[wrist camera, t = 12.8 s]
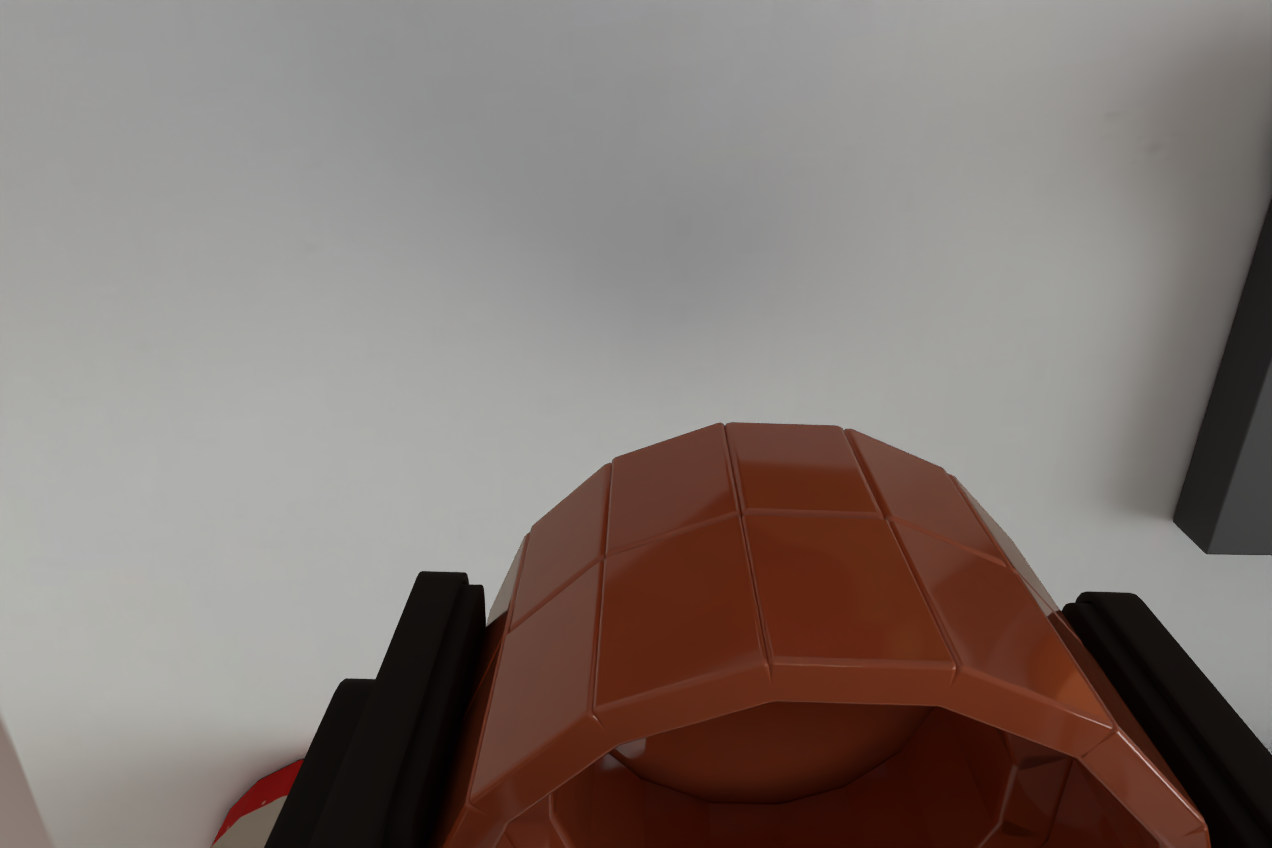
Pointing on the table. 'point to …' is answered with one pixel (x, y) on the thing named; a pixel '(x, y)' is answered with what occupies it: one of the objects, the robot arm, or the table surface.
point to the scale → (1237, 432)
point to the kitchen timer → (257, 811)
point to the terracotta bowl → (791, 669)
